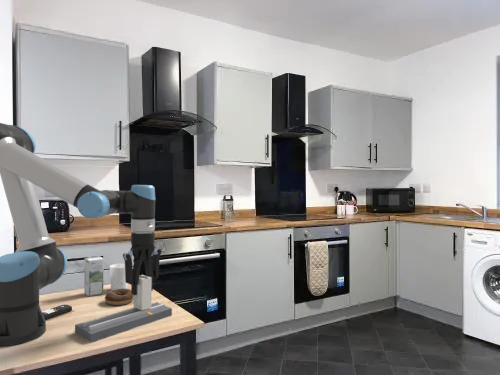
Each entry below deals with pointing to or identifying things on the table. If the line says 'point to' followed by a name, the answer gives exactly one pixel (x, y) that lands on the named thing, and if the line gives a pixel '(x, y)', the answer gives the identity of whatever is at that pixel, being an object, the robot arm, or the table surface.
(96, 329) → the slider board
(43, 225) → the robot arm
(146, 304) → the fader knob
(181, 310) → the table surface
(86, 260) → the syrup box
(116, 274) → the white cup
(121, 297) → the donut
